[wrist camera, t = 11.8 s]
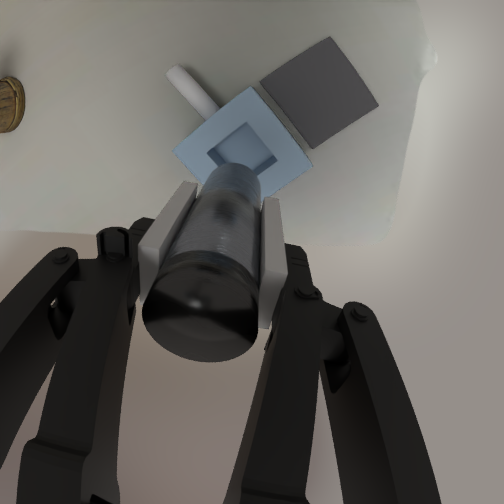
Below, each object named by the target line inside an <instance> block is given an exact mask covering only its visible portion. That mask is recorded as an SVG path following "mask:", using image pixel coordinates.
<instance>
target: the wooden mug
mask: <svg viewBox="0 0 504 504" xmlns="http://www.w3.org/2000/svg"><path fill="white" fill-rule="evenodd" d="M24 108H25V97H24V91H23V87H22V85H21V83H20V82H19V81H18V80H17V79H15V78H12V77H6V78H3V79H1V80H0V133H6V132H11V131H13V130H14V129H15V128H16V127H17V126H18V125H19V123H20V121H21V119H22V117H23V114H24Z"/></svg>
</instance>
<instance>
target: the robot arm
mask: <svg viewBox="0 0 504 504" xmlns="http://www.w3.org/2000/svg"><path fill="white" fill-rule="evenodd" d="M197 185H198V184H197V183H191V182H185V181H184V182H183V183H182V184H181V186H180V187H179V188H178V190H177V191H176V192H175V194H174V195H173V196H172V198H171V199H170V200H169V202H168V203H167V204H166V206H165V207H164V208H163V210H162V211H161V213H160V214H159V215H158V217H157V218H156V219H150V218H145V217H143V218H141V219H139V220H137V221H135V222H134V223H133V225H132V226H131V227H130V229H126V228H122V227H109V228H105V229H103V230H101V231H99V232H98V233H97V235H96V237H97V248H98V257H97V258H96V259H78V253H77V252H76V250H74V249H72V248H69V247H60V248H57V249H54V250H52V251H51V252H49V253H48V254H47V255H46V256H45V257H44V258H43V259H42V260H41V261H40V262H39V263H38V264H37V265H36V266H35V267H34V268H33V269H32V270H31V271H30V272H29V273H28V274H27V275H26V276H25V277H24V278H23V279H22V280H21V281H20V282H19V283H18V284H17V285H16V286H15V287H14V288H13V289H12V290H11V291H10V293H9V294H8V295H7V296H6V297H5V298H4V299H3V300H2V302H1V303H0V469H1V467H2V465H3V463H4V460H5V458H6V456H7V454H8V452H9V449H10V447H11V445H12V443H13V440H14V438H15V436H16V434H17V432H18V430H19V428H20V426H21V424H22V422H23V420H24V418H25V416H26V414H27V412H28V410H29V408H30V406H31V404H32V403H33V401H34V399H35V396H36V395H37V393H38V392H39V390H40V388H41V386H42V384H43V383H44V381H45V379H46V377H47V375H48V374H49V372H50V371H51V369H52V367H53V365H54V364H55V366H54V370H53V373H52V377H51V380H50V384H49V388H48V391H47V395H46V399H45V403H44V407H43V411H42V416H41V420H40V425H39V430H38V433H37V436H36V437H35V438H33V439H31V440H29V441H27V443H26V444H25V446H24V449H23V452H22V456H21V463H20V470H19V478H18V487H17V502H16V504H120V492H119V485H118V481H117V451H118V437H119V425H120V413H121V404H122V395H123V388H124V380H125V373H126V366H127V360H128V353H129V347H130V341H131V336H132V330H133V324H134V320H135V314H136V305H135V302H136V300H137V298H138V296H139V295H140V304H141V305H143V304H144V301H145V299H146V297H147V295H148V292H149V290H150V288H151V286H152V284H153V282H154V280H155V278H156V276H157V273H158V271H159V269H160V267H161V265H162V263H163V261H164V259H165V257H166V255H167V253H168V251H169V249H170V247H171V245H172V243H173V241H174V239H175V237H176V236H177V234H178V232H179V230H180V228H181V226H182V224H183V222H184V220H185V218H186V217H187V215H188V213H189V211H190V209H191V207H192V205H193V204H194V202H195V200H196V193H197ZM54 299H55V302H54V304H53V305H51V303H52V301H54ZM271 321H272V330H271V332H270V335H269V338H268V340H267V343H266V346H265V348H264V350H265V354H264V358H263V362H262V366H261V370H260V374H259V378H258V382H257V386H256V390H255V394H254V397H253V401H252V405H251V409H250V412H249V416H248V420H247V424H246V428H245V431H244V434H243V438H242V442H241V445H240V449H239V452H238V456H237V459H236V463H235V466H234V470H233V473H232V477H231V480H230V483H229V486H228V490H227V493H226V497H225V499H224V502H223V504H310V503H309V502H308V500H307V499H306V497H305V490H306V483H307V476H308V470H309V463H310V455H311V447H312V440H313V431H314V423H315V413H316V403H317V392H318V391H317V390H318V379H319V371H320V376H321V381H322V385H323V390H324V395H325V400H326V405H327V410H328V416H329V420H330V426H331V431H332V437H333V442H334V448H335V454H336V459H337V465H338V471H339V477H340V483H341V490H342V496H343V503H344V504H441V500H440V496H439V492H438V488H437V484H436V480H435V476H434V473H433V469H432V466H431V462H430V459H429V456H428V452H427V449H426V445H425V442H424V439H423V436H422V433H421V430H420V427H419V424H418V421H417V418H416V415H415V412H414V409H413V407H412V404H411V401H410V398H409V396H408V393H407V390H406V388H405V385H404V382H403V380H402V377H401V375H400V372H399V370H398V367H397V365H396V362H395V360H394V357H393V355H392V353H391V350H390V348H389V345H388V343H387V341H386V338H385V336H384V334H383V331H382V329H381V327H380V325H379V322H378V320H377V318H376V316H375V314H374V313H373V311H372V310H371V309H370V308H369V307H367V306H366V305H364V304H362V303H359V302H348V303H346V304H345V305H344V307H343V309H341V308H339V307H336V306H334V305H331V304H329V303H327V302H325V301H323V297H322V293H321V292H320V291H319V289H318V288H316V287H315V286H314V285H313V282H312V278H311V273H310V268H309V264H308V260H307V255H306V253H305V251H304V250H303V249H302V248H301V247H300V246H296V245H291V244H286V243H284V236H283V228H282V220H281V213H280V205H279V199H275V198H270V197H264V201H263V205H262V209H261V215H260V268H259V313H258V328H264V329H269V326H270V323H271ZM55 362H56V363H55Z"/></svg>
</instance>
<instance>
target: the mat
mask: <svg viewBox="0 0 504 504" xmlns="http://www.w3.org/2000/svg"><path fill="white" fill-rule="evenodd" d="M260 83H261V84H262V86H263V87H264V88H265V89H266V90H267V91H268V93H269V94H270V95H271V96H272V98H273V99H274V100H275V101H276V102H277V104H278V105H279V106H280V107H281V109H282V110H283V111H284V112H285V114H286V115H287V116H288V118H289V119H290V120H291V121H292V123H293V124H294V125H295V127H296V128H297V129H298V131H299V132H300V133H301V135H302V136H303V137H304V139H305V140H306V141H307V143H308V144H309V145H310V147H311V148H312V149H314V148H315V147H317V146H318V145H320V144H321V143H323V142H324V141H325V140H327V139H328V138H330V137H331V136H333V135H334V134H336V133H338V132H339V131H341V130H342V129H344V128H345V127H347V126H348V125H350V124H351V123H353V122H354V121H356V120H357V119H359V118H361V117H362V116H364V115H365V114H367V113H368V112H370V111H372V110H373V109H375V108H376V107H378V106H379V105H378V103H377V102H376V100H375V99H374V97H373V95H372V94H371V92H370V91H369V89H368V88H367V86H366V85H365V83H364V82H363V80H362V79H361V77H360V76H359V74H358V73H357V71H356V70H355V69H354V67H353V66H352V64H351V63H350V62H349V60H348V59H347V58H346V56H345V55H344V53H343V52H342V51H341V50H340V48H339V47H338V46H337V44H336V43H335V42H334V41H333V39H332V38H331V37H328V38H326V39H324V40H323V41H321V42H319V43H318V44H316V45H314V46H313V47H311V48H309V49H308V50H306V51H304V52H303V53H301V54H300V55H298V56H296V57H295V58H293V59H292V60H290V61H289V62H287V63H286V64H284V65H283V66H281V67H280V68H278V69H277V70H275V71H274V72H272V73H271V74H269V75H268V76H267V77H265V78H264V79H262V80H261V81H260Z"/></svg>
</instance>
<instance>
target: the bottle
mask: <svg viewBox="0 0 504 504" xmlns="http://www.w3.org/2000/svg"><path fill="white" fill-rule="evenodd" d="M260 215H261V184H260V181H259V179H258V177H257V175H256V174H255V172H254V171H253V170H252V169H250V168H249V167H247V166H245V165H243V164H239V163H226V164H223V165H220V166H218V167H217V168H216V169H214V170H213V171H212V172H211V174H210V175H209V177H208V179H207V180H206V182H205V184H204V186H203V187H202V189H201V191H200V193H199V195H198V196H197V198H196V200H195V202H194V204H193V205H192V207H191V209H190V211H189V213H188V215H187V217H186V218H185V220H184V222H183V224H182V226H181V228H180V230H179V232H178V234H177V236H176V237H175V239H174V241H173V243H172V245H171V247H170V249H169V251H168V253H167V255H166V257H165V259H164V261H163V263H162V265H161V267H160V269H159V271H158V273H157V276H156V278H155V280H154V282H153V284H152V286H151V288H150V290H149V292H148V295H147V297H146V299H145V301H144V304H143V307H142V318H143V322H144V325H145V327H146V329H147V331H148V332H149V333H150V335H151V336H152V338H153V339H154V340H155V341H156V342H157V343H158V344H160V345H161V346H162V347H163V348H165V349H166V350H168V351H170V352H172V353H174V354H176V355H178V356H180V357H183V358H186V359H189V360H194V361H199V362H222V361H227V360H230V359H234V358H236V357H238V356H240V355H242V354H244V353H245V352H246V351H248V350H249V349H250V348H251V347H252V345H253V344H254V342H255V340H256V338H257V334H258V313H259V268H260Z"/></svg>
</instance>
